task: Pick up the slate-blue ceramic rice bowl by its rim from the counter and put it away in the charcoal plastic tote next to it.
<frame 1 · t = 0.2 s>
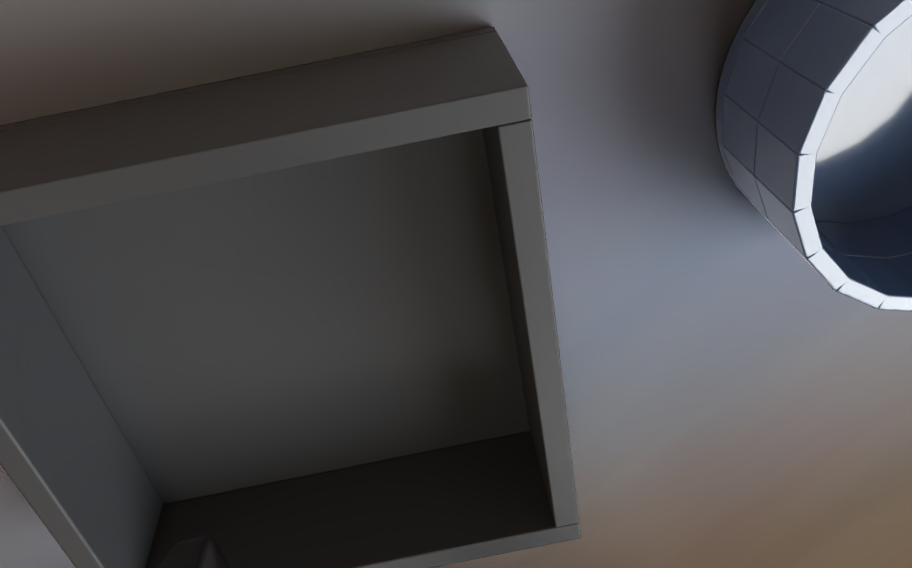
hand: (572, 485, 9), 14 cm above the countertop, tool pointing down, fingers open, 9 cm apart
rice bowl: (878, 79, 23), on the countertop
tote: (294, 310, 25), on the countertop
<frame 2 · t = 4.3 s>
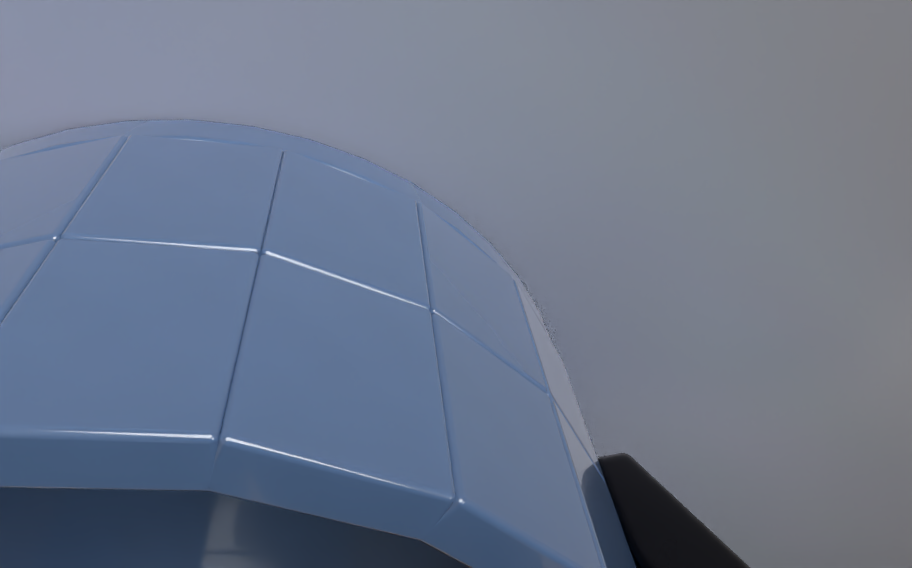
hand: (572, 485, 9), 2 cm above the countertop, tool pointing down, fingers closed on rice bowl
rice bowl: (225, 443, 11), on the countertop, touching gripper
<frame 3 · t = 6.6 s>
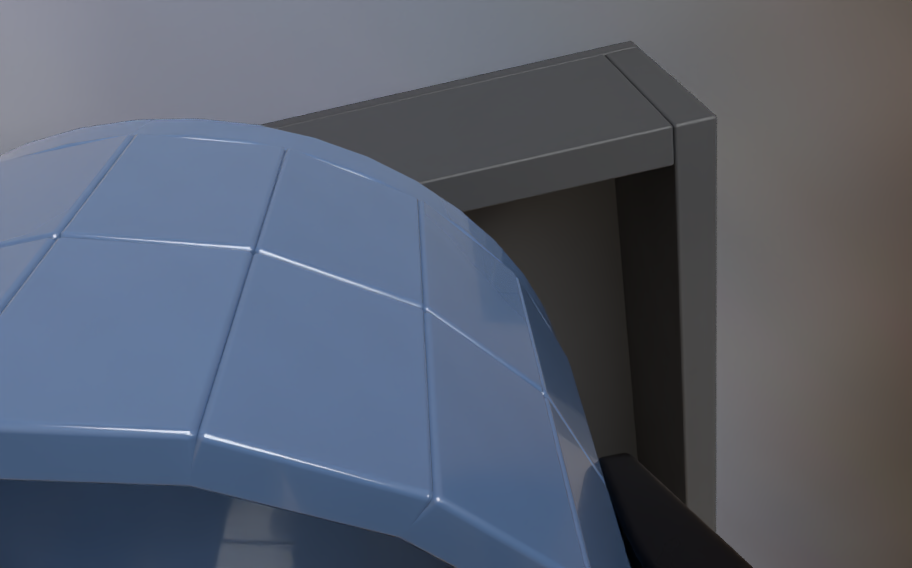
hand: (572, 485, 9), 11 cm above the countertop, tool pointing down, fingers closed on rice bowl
rice bowl: (236, 435, 11), point 9 cm above the countertop, touching gripper
tote: (384, 366, 22), on the countertop
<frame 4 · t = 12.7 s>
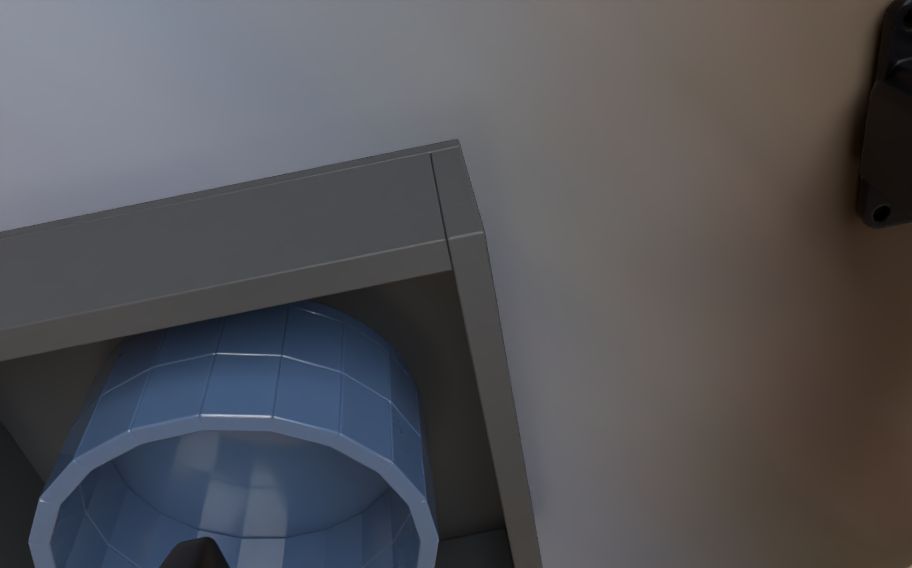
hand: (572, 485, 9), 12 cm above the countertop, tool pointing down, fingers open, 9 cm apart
rice bowl: (263, 425, 23), resting on tote
tote: (257, 415, 24), on the countertop
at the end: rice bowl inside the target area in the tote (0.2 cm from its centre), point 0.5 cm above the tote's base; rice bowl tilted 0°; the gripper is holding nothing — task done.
